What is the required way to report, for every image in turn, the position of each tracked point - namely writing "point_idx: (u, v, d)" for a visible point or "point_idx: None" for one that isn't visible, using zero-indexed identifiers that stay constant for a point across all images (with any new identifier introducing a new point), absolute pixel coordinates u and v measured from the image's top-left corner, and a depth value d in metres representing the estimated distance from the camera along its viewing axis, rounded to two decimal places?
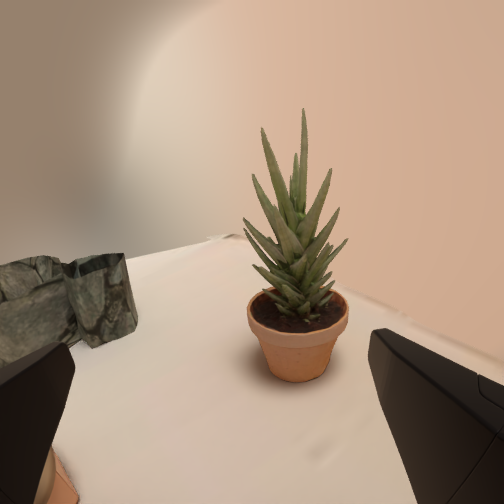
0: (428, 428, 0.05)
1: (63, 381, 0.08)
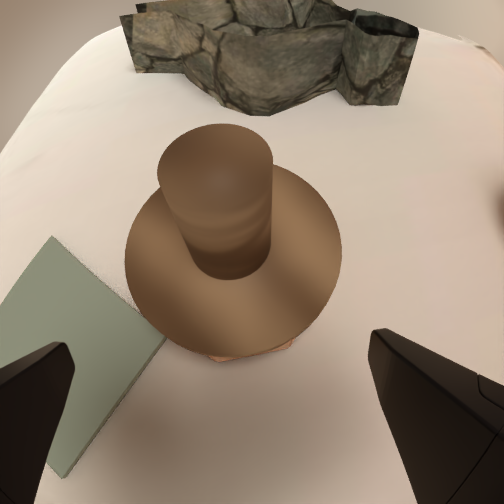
0: (428, 428, 0.05)
1: (63, 381, 0.08)
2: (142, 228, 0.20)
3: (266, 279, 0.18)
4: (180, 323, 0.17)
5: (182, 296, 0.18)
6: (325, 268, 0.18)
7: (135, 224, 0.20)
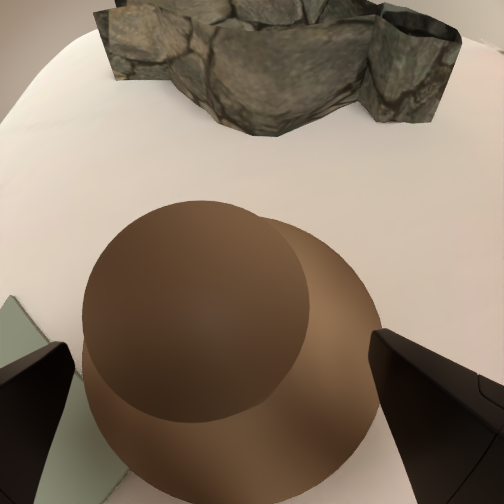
0: (428, 428, 0.05)
1: (63, 381, 0.08)
2: None
3: (280, 412, 0.11)
4: (162, 466, 0.10)
5: (161, 431, 0.11)
6: (363, 391, 0.12)
7: None
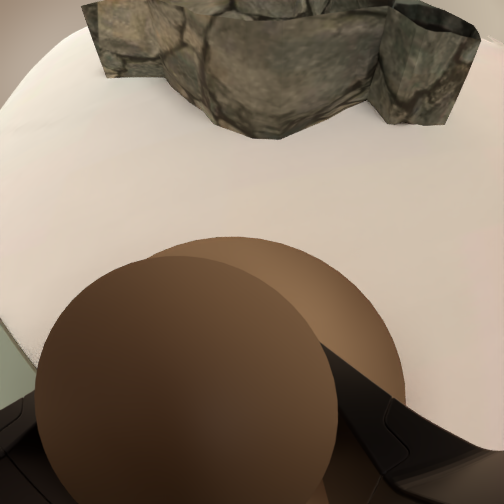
0: (334, 449, 0.05)
1: None
2: None
3: None
4: None
5: None
6: None
7: None
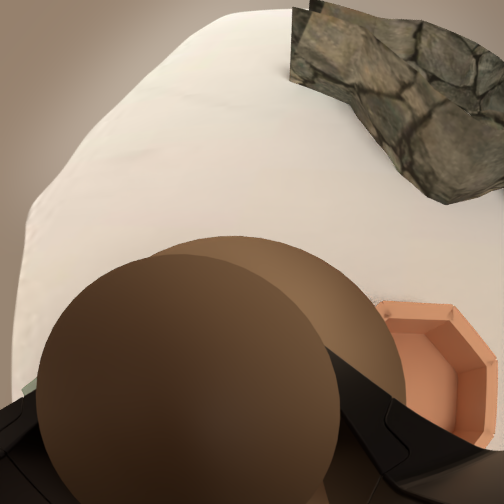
0: None
1: None
2: None
3: None
4: None
5: None
6: None
7: None
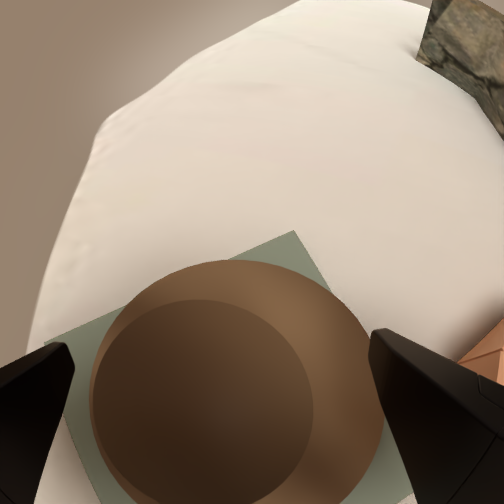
0: (428, 428, 0.05)
1: (63, 381, 0.08)
2: None
3: None
4: None
5: None
6: (361, 438, 0.11)
7: (98, 362, 0.13)
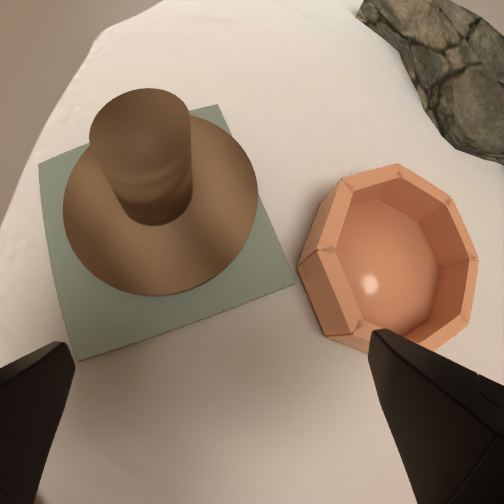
0: (428, 428, 0.05)
1: (63, 381, 0.08)
2: (82, 171, 0.20)
3: (182, 228, 0.20)
4: (103, 261, 0.18)
5: (107, 236, 0.19)
6: (237, 225, 0.20)
7: (76, 166, 0.20)
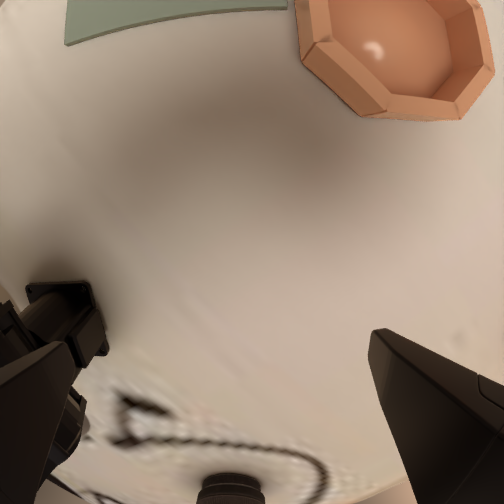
0: (428, 428, 0.05)
1: (63, 381, 0.08)
2: None
3: None
4: None
5: None
6: None
7: None
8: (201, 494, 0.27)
